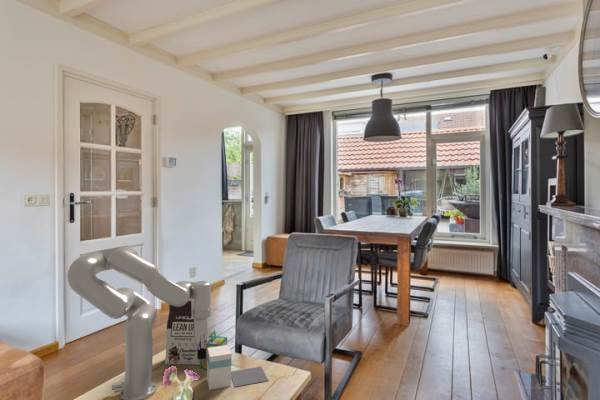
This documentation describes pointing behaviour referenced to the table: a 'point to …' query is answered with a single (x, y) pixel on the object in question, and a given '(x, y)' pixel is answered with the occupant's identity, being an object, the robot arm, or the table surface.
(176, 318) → the protein powder
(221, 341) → the gift box
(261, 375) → the mat
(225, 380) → the carton
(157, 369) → the table surface
